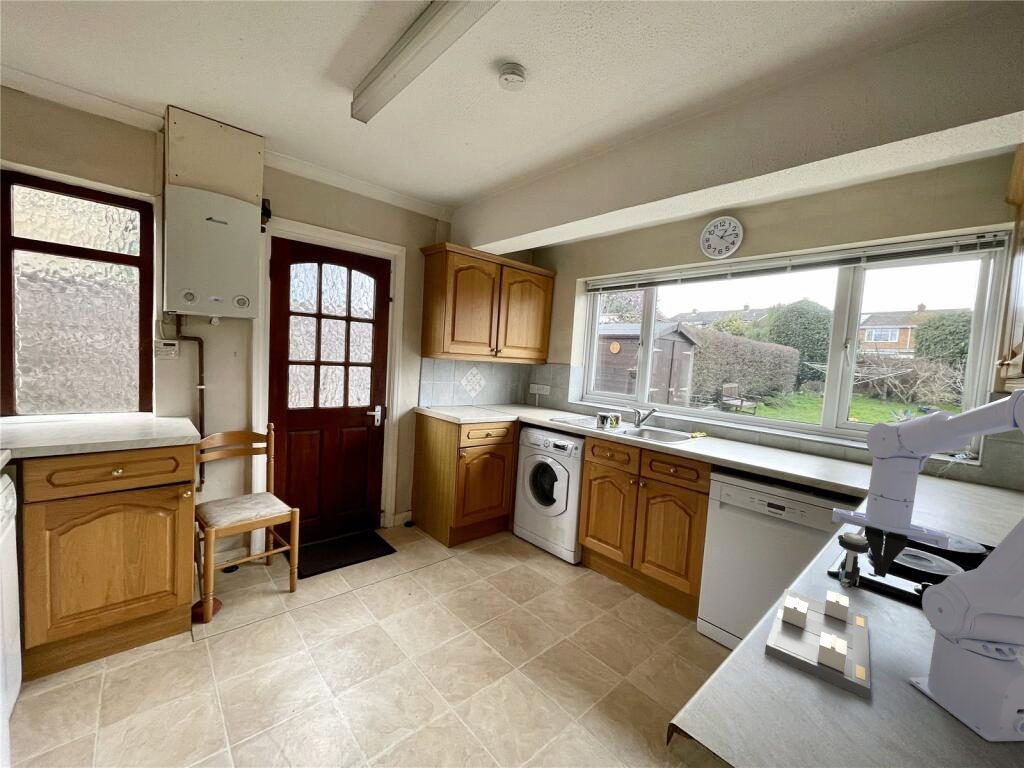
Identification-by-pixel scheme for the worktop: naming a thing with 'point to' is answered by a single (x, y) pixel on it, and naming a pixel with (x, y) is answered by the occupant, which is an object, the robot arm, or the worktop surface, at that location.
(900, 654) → the worktop surface
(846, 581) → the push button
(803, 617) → the middle tab
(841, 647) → the near tab
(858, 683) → the switch plate
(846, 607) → the far tab
